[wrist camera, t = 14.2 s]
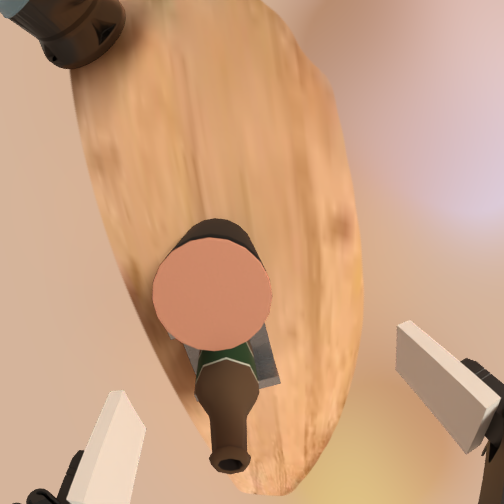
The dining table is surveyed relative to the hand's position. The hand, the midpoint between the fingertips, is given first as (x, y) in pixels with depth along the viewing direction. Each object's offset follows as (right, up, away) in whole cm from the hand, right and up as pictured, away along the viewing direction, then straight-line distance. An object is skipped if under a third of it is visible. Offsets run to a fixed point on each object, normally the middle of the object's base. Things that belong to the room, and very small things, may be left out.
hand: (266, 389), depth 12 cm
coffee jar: (-6, +6, +31) cm, 32 cm away
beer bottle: (-5, -8, +32) cm, 34 cm away
